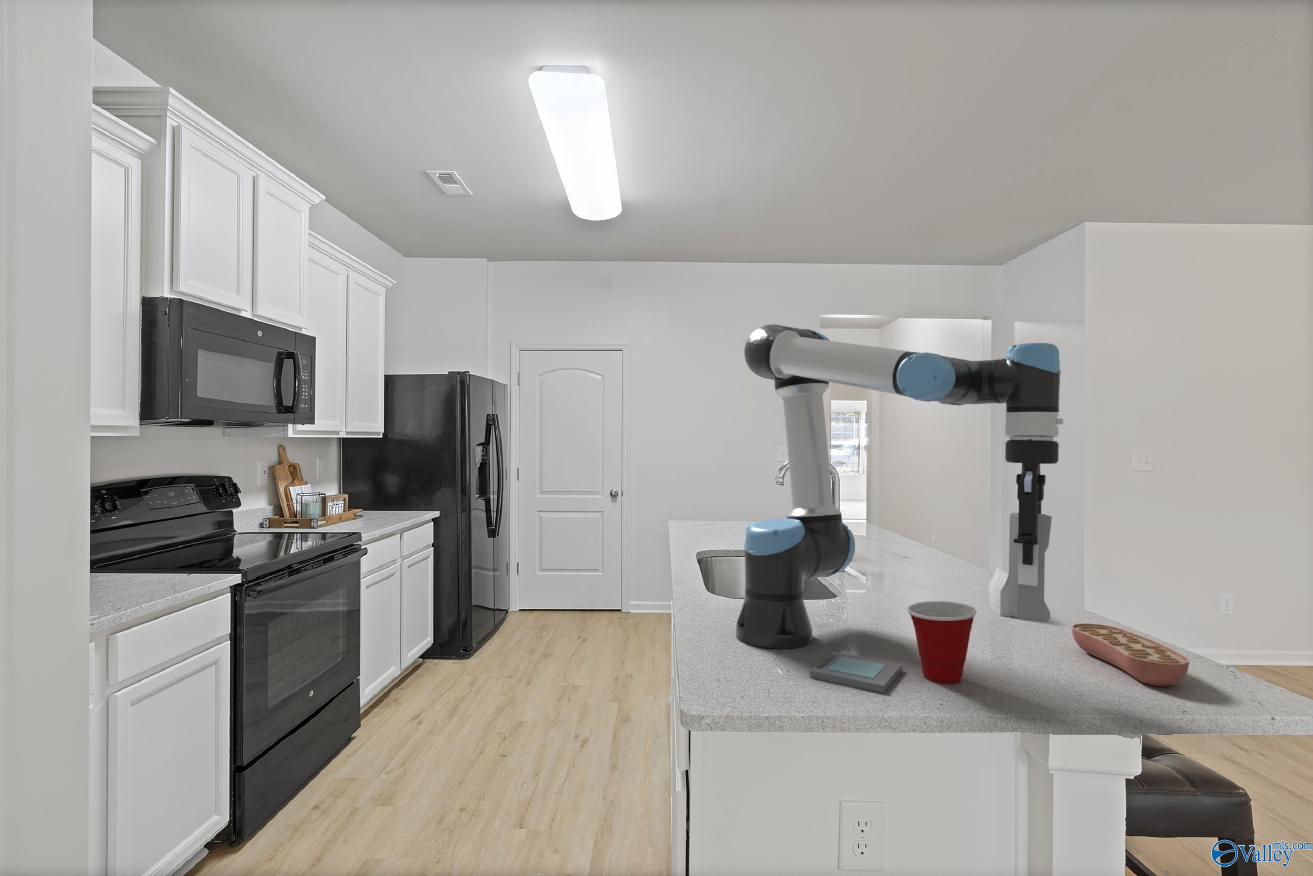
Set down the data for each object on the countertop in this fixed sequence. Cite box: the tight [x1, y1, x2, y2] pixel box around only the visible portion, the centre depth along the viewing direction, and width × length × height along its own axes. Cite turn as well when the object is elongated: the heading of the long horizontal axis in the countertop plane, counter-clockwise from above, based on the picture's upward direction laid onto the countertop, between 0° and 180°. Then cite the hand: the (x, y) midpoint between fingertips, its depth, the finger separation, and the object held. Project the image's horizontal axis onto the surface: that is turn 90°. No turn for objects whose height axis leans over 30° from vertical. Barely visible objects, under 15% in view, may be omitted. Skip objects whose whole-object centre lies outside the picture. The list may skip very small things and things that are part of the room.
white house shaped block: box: [988, 567, 1014, 617], centre depth 150 cm, size 4×7×10 cm, turn 173°
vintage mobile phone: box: [1008, 512, 1053, 621], centre depth 106 cm, size 4×5×25 cm
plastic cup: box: [906, 600, 978, 685], centre depth 109 cm, size 11×11×12 cm
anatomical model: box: [1071, 623, 1190, 687], centre depth 114 cm, size 23×10×5 cm, turn 177°
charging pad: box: [809, 651, 903, 694], centre depth 111 cm, size 12×12×1 cm
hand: (1029, 580), depth 106 cm, fingers closed on vintage mobile phone, 5 cm apart
